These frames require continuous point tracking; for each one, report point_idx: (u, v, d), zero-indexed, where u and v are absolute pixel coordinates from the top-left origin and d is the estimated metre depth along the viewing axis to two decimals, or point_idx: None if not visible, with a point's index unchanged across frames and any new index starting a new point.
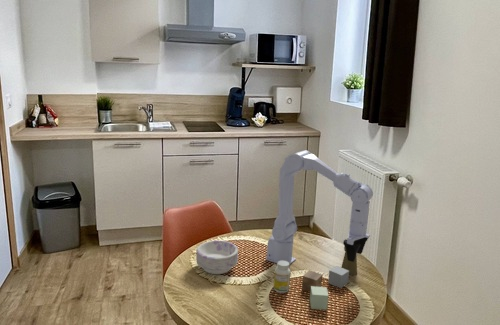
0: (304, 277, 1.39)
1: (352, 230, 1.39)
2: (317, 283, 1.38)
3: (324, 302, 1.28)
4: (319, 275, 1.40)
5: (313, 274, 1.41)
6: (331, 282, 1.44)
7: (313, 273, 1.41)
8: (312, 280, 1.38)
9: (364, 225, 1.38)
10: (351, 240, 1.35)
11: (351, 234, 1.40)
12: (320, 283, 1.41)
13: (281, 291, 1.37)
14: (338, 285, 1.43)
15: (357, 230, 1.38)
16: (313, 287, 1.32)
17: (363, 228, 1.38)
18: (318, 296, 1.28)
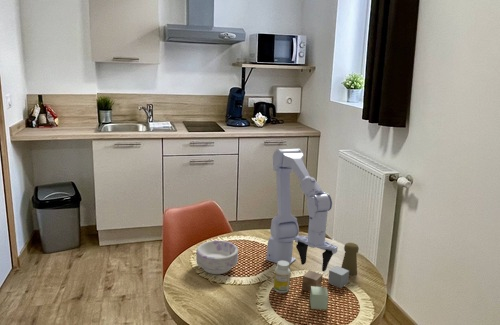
0: (304, 277, 1.39)
1: None
2: (317, 283, 1.38)
3: (324, 302, 1.28)
4: (319, 275, 1.40)
5: (313, 274, 1.41)
6: (331, 282, 1.44)
7: (313, 273, 1.41)
8: (312, 280, 1.38)
9: (309, 232, 1.35)
10: None
11: None
12: (320, 283, 1.41)
13: (281, 291, 1.37)
14: (338, 285, 1.43)
15: None
16: (313, 287, 1.32)
17: (309, 235, 1.36)
18: (318, 296, 1.28)
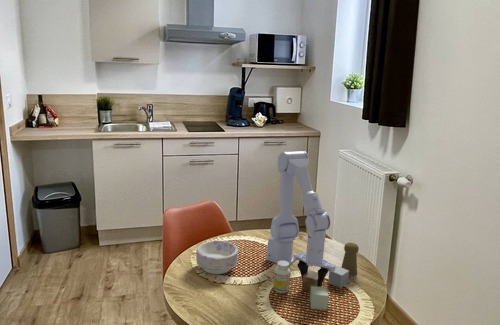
0: (304, 277, 1.39)
1: None
2: (317, 283, 1.38)
3: (324, 302, 1.28)
4: None
5: (313, 274, 1.41)
6: (331, 282, 1.44)
7: (313, 273, 1.41)
8: (312, 280, 1.38)
9: (308, 250, 1.37)
10: None
11: None
12: None
13: (281, 291, 1.37)
14: (338, 286, 1.43)
15: (306, 253, 1.39)
16: (313, 287, 1.32)
17: (307, 254, 1.37)
18: (318, 296, 1.28)
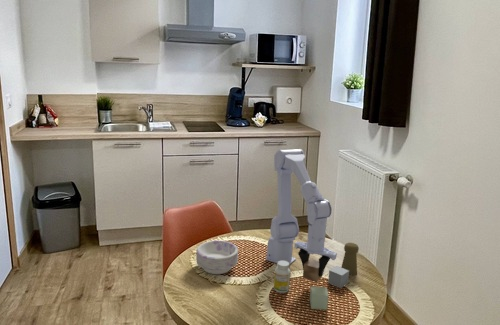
0: (305, 265, 1.38)
1: None
2: (318, 271, 1.37)
3: (324, 302, 1.28)
4: None
5: (314, 262, 1.40)
6: (331, 282, 1.44)
7: (314, 261, 1.40)
8: (313, 268, 1.37)
9: (309, 238, 1.36)
10: None
11: None
12: None
13: (281, 291, 1.37)
14: (338, 286, 1.43)
15: (307, 241, 1.38)
16: (313, 287, 1.32)
17: (308, 242, 1.36)
18: (318, 296, 1.28)
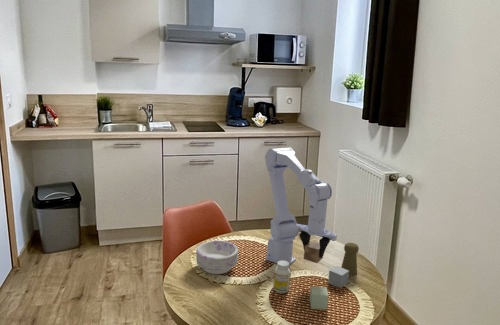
0: (306, 247, 1.41)
1: None
2: (318, 252, 1.40)
3: (324, 302, 1.28)
4: None
5: (315, 244, 1.43)
6: (331, 282, 1.44)
7: (315, 243, 1.44)
8: (314, 250, 1.40)
9: (309, 220, 1.39)
10: None
11: None
12: None
13: (281, 291, 1.37)
14: (338, 286, 1.43)
15: None
16: (313, 287, 1.32)
17: (309, 223, 1.40)
18: (318, 296, 1.28)
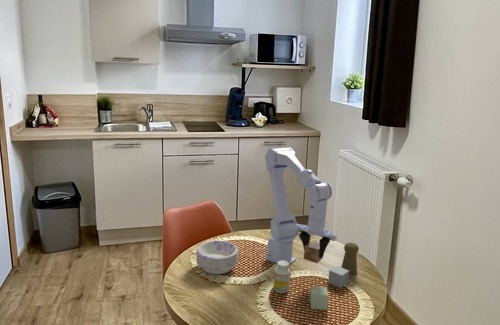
0: (306, 247, 1.41)
1: None
2: (318, 252, 1.40)
3: (324, 302, 1.28)
4: None
5: (315, 244, 1.43)
6: (331, 282, 1.44)
7: (315, 243, 1.44)
8: (314, 250, 1.40)
9: (309, 220, 1.39)
10: None
11: None
12: None
13: (281, 291, 1.37)
14: (338, 286, 1.43)
15: None
16: (313, 287, 1.32)
17: (309, 223, 1.40)
18: (318, 296, 1.28)
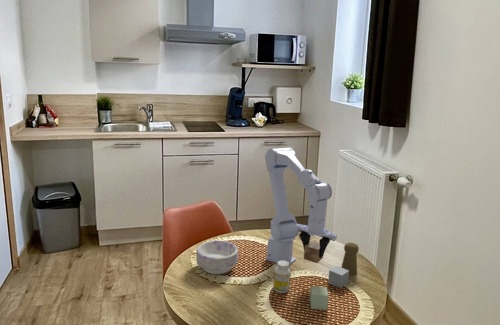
0: (306, 247, 1.41)
1: None
2: (318, 252, 1.40)
3: (324, 302, 1.28)
4: None
5: (315, 244, 1.43)
6: (331, 282, 1.44)
7: (315, 243, 1.44)
8: (314, 250, 1.40)
9: (309, 220, 1.39)
10: None
11: None
12: None
13: (281, 291, 1.37)
14: (338, 286, 1.43)
15: None
16: (313, 287, 1.32)
17: (309, 223, 1.40)
18: (318, 296, 1.28)
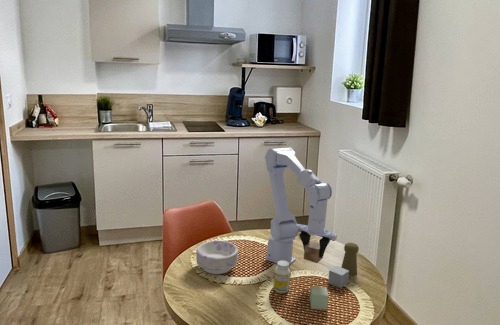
0: (306, 247, 1.41)
1: None
2: (318, 252, 1.40)
3: (324, 302, 1.28)
4: None
5: (315, 244, 1.43)
6: (331, 282, 1.44)
7: (315, 243, 1.44)
8: (314, 250, 1.40)
9: (309, 220, 1.39)
10: None
11: None
12: None
13: (281, 291, 1.37)
14: (338, 286, 1.43)
15: None
16: (313, 287, 1.32)
17: (309, 223, 1.40)
18: (318, 296, 1.28)
